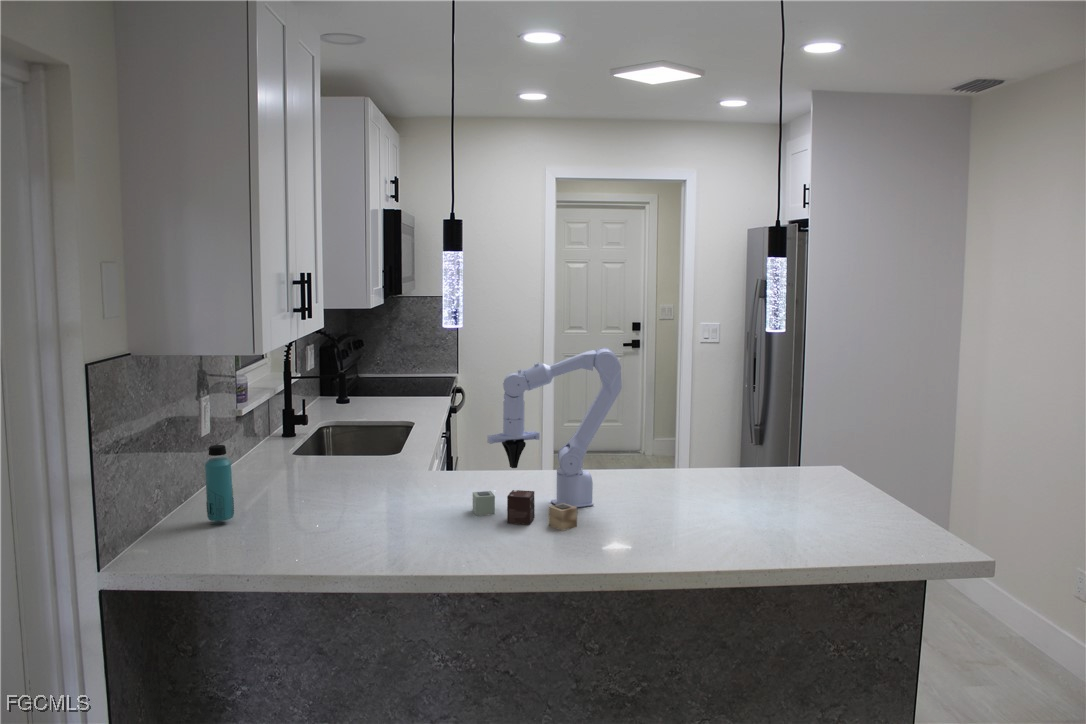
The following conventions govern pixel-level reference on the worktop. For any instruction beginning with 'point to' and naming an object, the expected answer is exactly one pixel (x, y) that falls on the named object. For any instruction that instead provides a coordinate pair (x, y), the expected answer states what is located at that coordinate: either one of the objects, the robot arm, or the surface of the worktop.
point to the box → (520, 507)
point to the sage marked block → (483, 503)
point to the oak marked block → (563, 516)
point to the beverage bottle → (219, 485)
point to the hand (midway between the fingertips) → (513, 467)
